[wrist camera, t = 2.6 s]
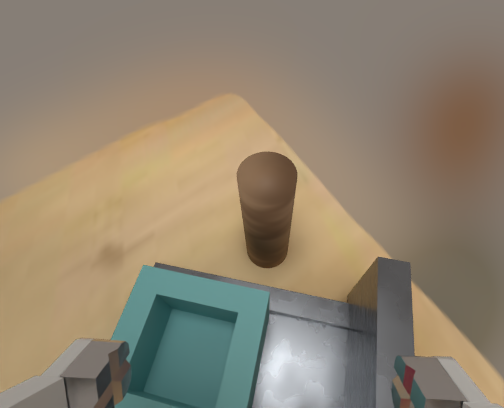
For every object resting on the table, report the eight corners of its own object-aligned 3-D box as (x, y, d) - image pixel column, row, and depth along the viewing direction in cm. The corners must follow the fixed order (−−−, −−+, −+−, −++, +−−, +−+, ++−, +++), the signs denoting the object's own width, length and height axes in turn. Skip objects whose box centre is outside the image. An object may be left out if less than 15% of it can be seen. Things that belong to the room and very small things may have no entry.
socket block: (126, 412, 23) (76, 417, 17) (170, 293, 27) (143, 264, 21) (244, 447, 21) (235, 467, 15) (269, 316, 26) (269, 291, 20)
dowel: (242, 263, 30) (229, 194, 20) (252, 227, 32) (244, 148, 22) (283, 271, 29) (292, 204, 19) (290, 234, 31) (301, 156, 21)
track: (80, 459, 22) (-18, 491, 15) (162, 256, 30) (127, 210, 23) (364, 554, 19) (428, 658, 11) (370, 300, 27) (410, 262, 20)
